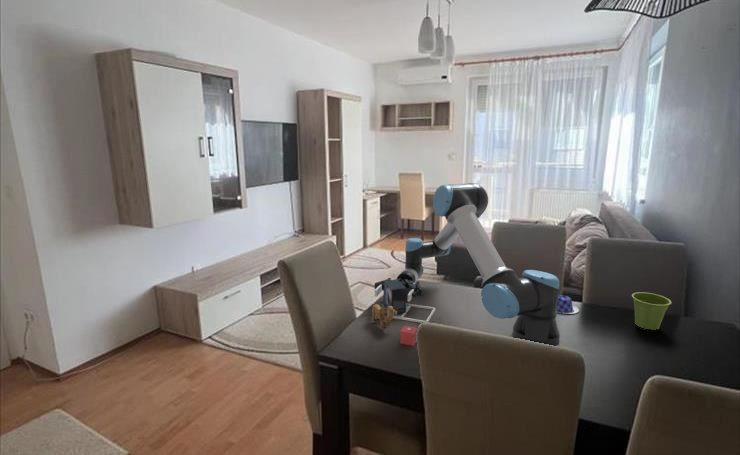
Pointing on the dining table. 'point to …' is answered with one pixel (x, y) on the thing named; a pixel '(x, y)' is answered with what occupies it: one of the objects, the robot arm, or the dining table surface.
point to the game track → (401, 316)
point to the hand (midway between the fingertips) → (391, 295)
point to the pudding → (565, 305)
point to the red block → (408, 335)
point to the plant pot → (649, 309)
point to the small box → (395, 295)
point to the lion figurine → (383, 314)
